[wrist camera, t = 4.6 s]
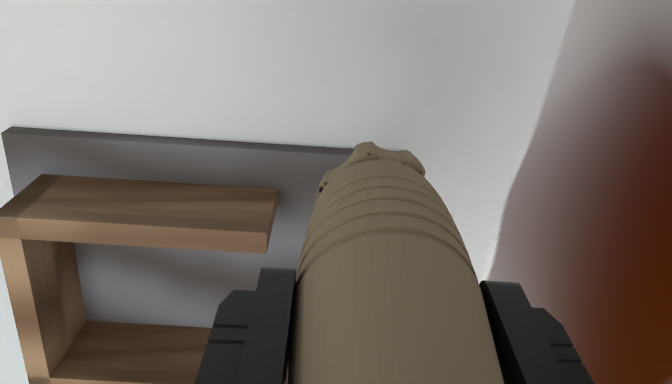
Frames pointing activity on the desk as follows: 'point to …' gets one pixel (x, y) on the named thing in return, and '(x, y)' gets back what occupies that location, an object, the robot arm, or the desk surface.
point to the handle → (386, 283)
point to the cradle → (143, 244)
